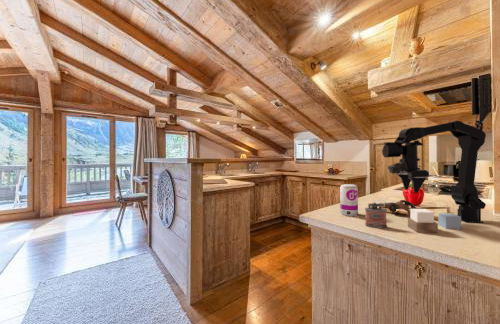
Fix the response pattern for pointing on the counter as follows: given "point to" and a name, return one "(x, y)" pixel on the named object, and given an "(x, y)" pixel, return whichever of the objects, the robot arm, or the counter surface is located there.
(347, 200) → the supplement can
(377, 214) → the lighter
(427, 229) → the walnut base block
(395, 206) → the dark brown irregular piece
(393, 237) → the counter surface
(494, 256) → the counter surface
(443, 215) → the slate block
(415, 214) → the cream middle block
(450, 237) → the counter surface
